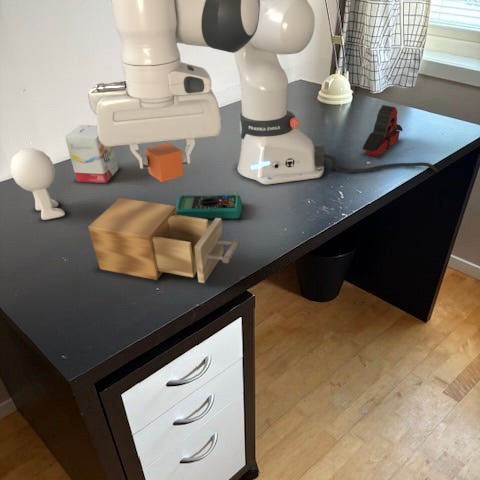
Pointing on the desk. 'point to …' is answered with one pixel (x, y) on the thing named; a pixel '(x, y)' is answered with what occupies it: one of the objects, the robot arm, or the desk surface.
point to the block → (165, 162)
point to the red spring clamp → (383, 132)
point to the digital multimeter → (209, 206)
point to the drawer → (191, 246)
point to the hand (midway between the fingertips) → (165, 165)
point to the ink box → (90, 155)
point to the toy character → (36, 179)
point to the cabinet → (129, 236)
